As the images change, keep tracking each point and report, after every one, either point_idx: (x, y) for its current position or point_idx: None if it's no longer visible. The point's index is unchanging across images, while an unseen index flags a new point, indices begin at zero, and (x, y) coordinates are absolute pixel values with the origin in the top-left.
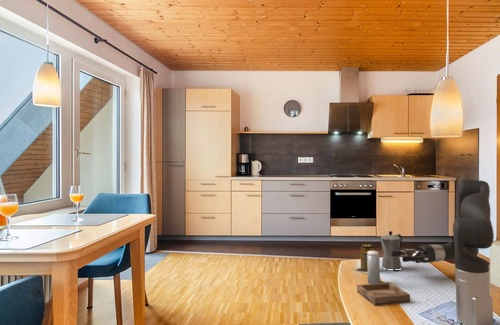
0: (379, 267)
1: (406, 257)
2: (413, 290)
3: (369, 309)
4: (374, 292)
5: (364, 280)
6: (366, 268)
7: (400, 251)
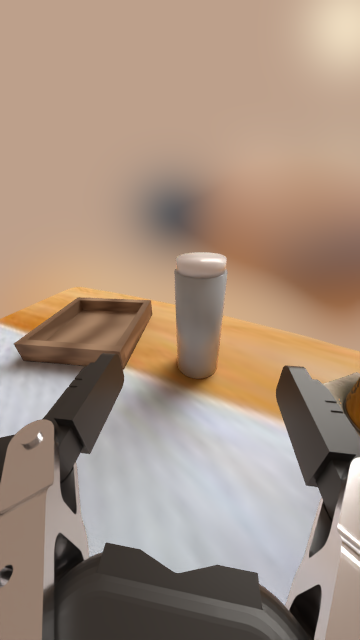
0: (181, 325)
1: (90, 376)
2: None
3: None
4: (120, 324)
5: (223, 352)
6: (349, 394)
7: (342, 475)
